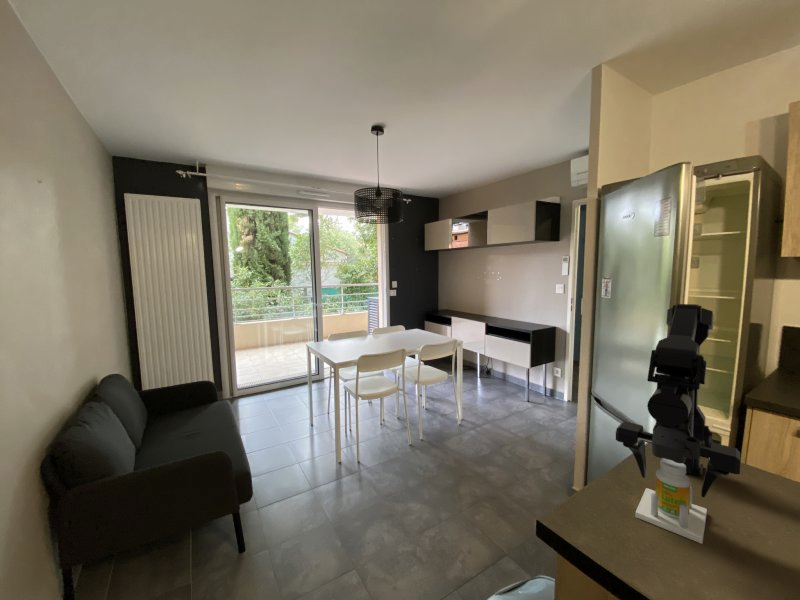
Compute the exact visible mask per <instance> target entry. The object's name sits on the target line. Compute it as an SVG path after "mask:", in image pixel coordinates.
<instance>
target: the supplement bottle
mask: <svg viewBox="0 0 800 600" xmlns="http://www.w3.org/2000/svg"><path fill="white" fill-rule="evenodd" d="M659 465H660V468H658V469H657V470H656V472H655V487H654V488H655V490H654V491H655V494H657V495H658V496H659V503H658V509H659V510H660V511H661V512H662V513H664V514H666V515H668V516H670V517H674V518H679V515H680V504H681V503H682V504H686V505H687V506H688V516H689V507H690V487H691V479H690V478H689V476H687V475H686V474H687V472H686V466H685V465H684V464H683V463H676V462H674V461H672V460H668V459H665V458H660V464H659Z"/></svg>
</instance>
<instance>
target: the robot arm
mask: <svg viewBox="0 0 800 600" xmlns="http://www.w3.org/2000/svg"><path fill="white" fill-rule="evenodd" d="M666 311H667V312H666V322H665V323H666V325H667V327H669V330H668V334H667V336H666V337H665V338H662V339H659V340H658V342H657V344H656V347H655V349H651V354H650V360H649V366H648V367H649V368H648V375H647V379H646V381H647V382H649V383H656V389H655V391H654V392H653V394H652V395H651V396H650V398H649V400H648V401H647V410H648V413H649V415H650V416H651V418H653V419H654V421H655V424H654V427H653V428H652V433H651V432H648V431H644V425H641V424H638V423H633V422H630V421H629V422H628V421H626V420H625V421H622V422H621V423H620V424H619V425H618V427H616V430H615V441H617V442H619V443H622V445H623V447H624V448H628V449H629V450H630V451H631V452H632V455H633V456H634V458H635V461H636V464H637V466H638V469H639V471H640V474H641V477H642V478H643V479H646V476H647V457H646V443H650V444H651V446H652V455H653V456H655V457H656V458H659V459H663V458H665V459H668V460H672V461H674V462H676V463H683V464H684V465H685V466H686V474H687V473H688V474H691V475H694V476H698V477H702V475H703V470H704V464H703V463H701V462H702V461H701V460H702V458H704V459H708V461H707V463H706V468H705V473H704V477H703V482H702V486H701V493H700V494H701V498H703V499H704V498H705V497H706V495H707V493H708V492H709V490H710V488H711V486H712V484H713V483H714V482H715V480H717V478H718V477H720V476H721V475H723V476H725V477H726V476H727V477H728V476H730V474H733V475H740V474H741V452H740V450H738V448H737V447H733V446H728V445H724V444H721V443H717V442H713V432H712V431H711V429H710V426H708V425H706V418H707V417H706V415H704V414H705V413H704V412H703V411H702V410H701V408H700V406H699V405H698V404H699V390H700V388H701V385H705V382H706V374H707V373H706V372H707V361H706V360H705V359H704V356H703V354H701V351H700V350H701V346H702V344H703V343H704V342H705V341H706V340H707V338H709V336H710V331H713V329H714V311H713V310H709V309H707V308H704V307H702V305H699V304H696V303H695V304H693V303H692V304H691V303H690V304H689V303H676V304H673V305H672V307H671V308H668V309H667V310H666ZM655 372H656V373H655Z"/></svg>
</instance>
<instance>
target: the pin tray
mask: <svg viewBox="0 0 800 600" xmlns="http://www.w3.org/2000/svg"><path fill="white" fill-rule="evenodd" d="M658 503H659V496H658V495H657V494H655V490H653V489H650V488H647V487H646V488H645V490H644V491H643V494H642V496H641V499H640V501H639V504H638V506H637V508H636V510H635V515H634V516H635V518H636V519H639V520H642V521H644V522H647V523H650V524H652V525H654V526H657V527H659V528H661V529H664V530H667V531H669V532H672V533H674V534H677V535H679V536H682V537H684V538H687V539H689V540H692V541H695V542H696V543H699V544H701V545H703V543H704V535H705V530H706V529H705V527H706V522H707V514H708V511H707V510H708V509H707V508H705V507H703V506H699V505H697V504H693V487H692V486H690V507H689V516H688V506H687V505H686V504H682V503H681V504H680V515H679V518H674V517H670V516H668V515H666V514H664V513H662V512H661V511H660V510H659V509H658Z"/></svg>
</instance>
